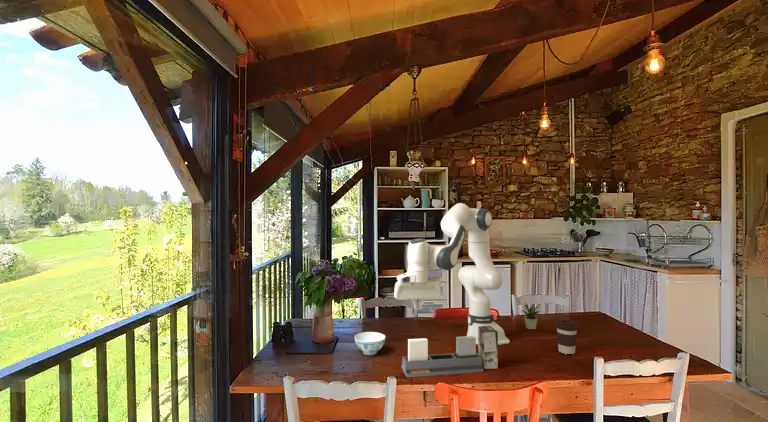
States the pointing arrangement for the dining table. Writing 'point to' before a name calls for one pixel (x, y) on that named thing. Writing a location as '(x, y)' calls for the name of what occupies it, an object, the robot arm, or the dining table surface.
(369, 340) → the chinaware
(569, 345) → the coffee cup
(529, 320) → the house plant
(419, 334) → the dining table surface
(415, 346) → the panel
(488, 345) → the coffee box
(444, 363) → the panel rack
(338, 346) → the dining table surface
